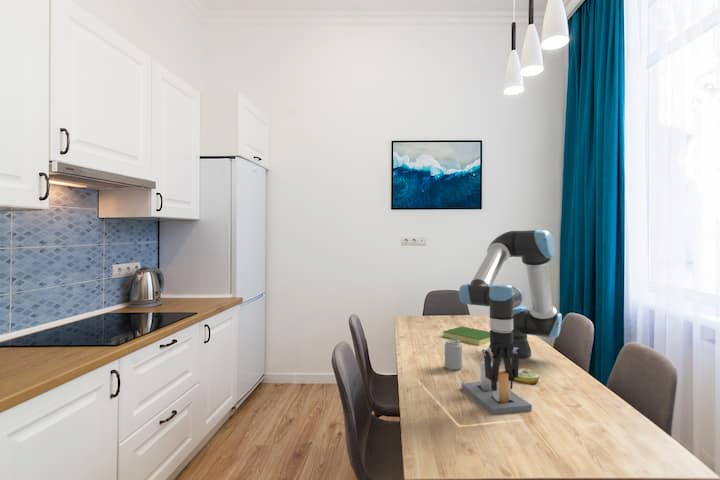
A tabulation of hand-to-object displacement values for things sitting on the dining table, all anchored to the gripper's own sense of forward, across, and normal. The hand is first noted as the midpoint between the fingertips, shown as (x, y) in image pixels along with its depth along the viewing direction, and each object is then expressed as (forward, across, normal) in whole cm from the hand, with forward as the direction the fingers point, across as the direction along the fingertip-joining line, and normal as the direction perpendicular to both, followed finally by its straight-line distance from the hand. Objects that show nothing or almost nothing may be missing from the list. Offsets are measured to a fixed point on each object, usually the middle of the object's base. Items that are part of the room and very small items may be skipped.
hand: (502, 398), depth 129 cm
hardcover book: (+3, -30, -84) cm, 89 cm away
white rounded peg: (+2, 0, -10) cm, 10 cm away
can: (+3, 0, -39) cm, 39 cm away
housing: (+3, 0, -5) cm, 6 cm away
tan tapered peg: (+2, 0, 0) cm, 2 cm away
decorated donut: (+3, -22, -20) cm, 30 cm away
